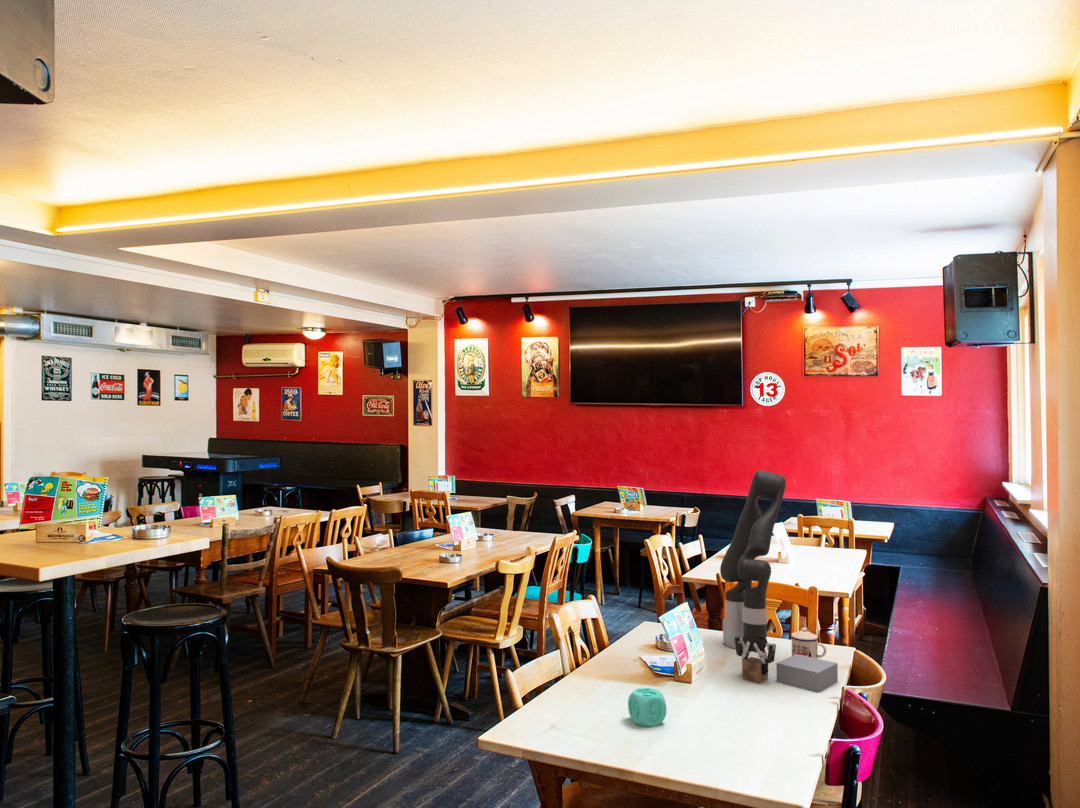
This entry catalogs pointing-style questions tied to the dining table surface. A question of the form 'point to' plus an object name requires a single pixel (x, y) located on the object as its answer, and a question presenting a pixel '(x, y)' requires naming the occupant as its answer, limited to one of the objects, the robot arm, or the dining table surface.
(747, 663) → the walnut cube
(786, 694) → the dining table surface
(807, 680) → the slate plinth
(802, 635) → the teacup with lid
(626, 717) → the dining table surface
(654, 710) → the decorative dice
